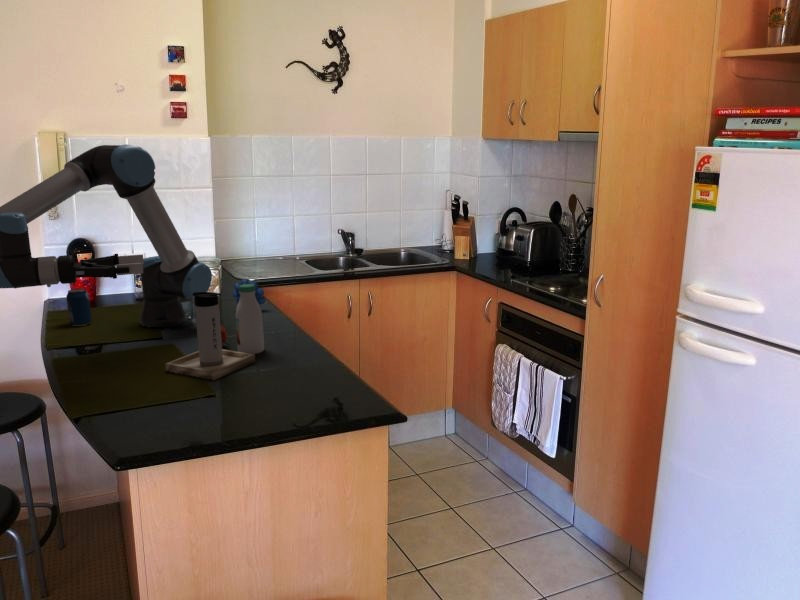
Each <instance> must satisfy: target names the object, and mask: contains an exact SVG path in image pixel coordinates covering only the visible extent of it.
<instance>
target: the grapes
mask: <svg viewBox="0 0 800 600" xmlns="http://www.w3.org/2000/svg"><path fill="white" fill-rule="evenodd" d="M243 284H253V285H255V297H256V300H257V302H258V304H259V306H260V308H261V309H262V306H261V305H264V304H265V303H266V299H265V297H264V295H265V291H264V289H263V288H261V287H258V283H257V282H256V281H254V280H251V281H250V282H249V280H248V279H246V278H243V279H241V280H240V283H239V282H235V283H234V284H233V288H234V291H232V293H231V294H232V297H233V298H234V299H236V306H238V303H239V300H240V293H239V286H240V285H243Z"/></svg>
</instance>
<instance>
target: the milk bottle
mask: <svg viewBox="0 0 800 600" xmlns="http://www.w3.org/2000/svg"><path fill="white" fill-rule="evenodd" d="M239 293H240V300H239V303H238V305H236V309H235V332H236V333H235V334H236V344H237V348H236V349H237V352H243V353H249V354H255V355H258V354H260V353H263V352H264V350H265V338H264V323H263V312H262V307H261V308H260V306H259V304H258V302H257V300H256V297H255V285H253V284H243V285H240V286H239Z"/></svg>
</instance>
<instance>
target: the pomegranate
mask: <svg viewBox="0 0 800 600" xmlns="http://www.w3.org/2000/svg"><path fill="white" fill-rule="evenodd" d="M220 327H221V340H222V347H223V346H224V343H225V344H227V345H230V344H229V343H228V342H226V341H227V340H228V332H227V329H226V328H225V327H224V326H223V325H222V324H220Z"/></svg>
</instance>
